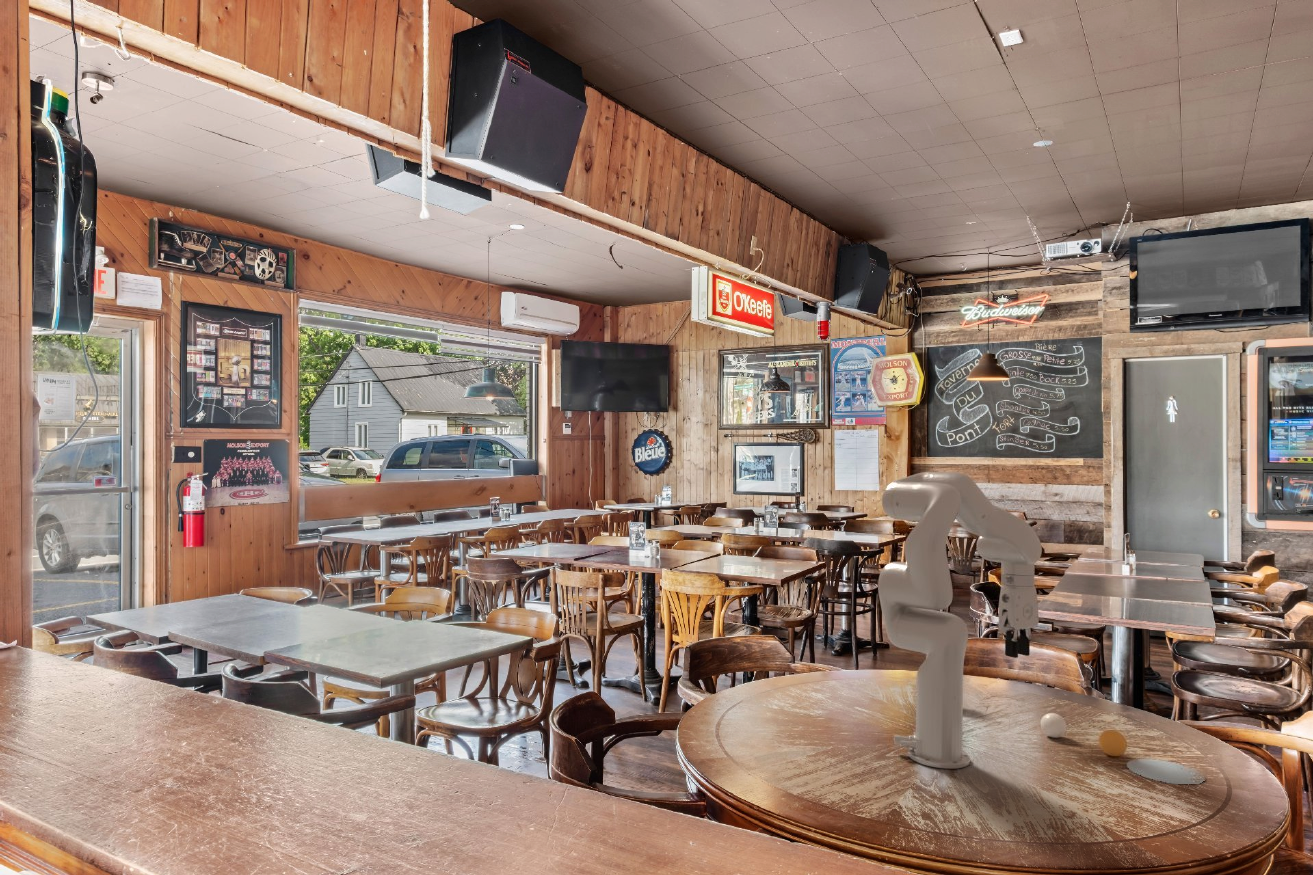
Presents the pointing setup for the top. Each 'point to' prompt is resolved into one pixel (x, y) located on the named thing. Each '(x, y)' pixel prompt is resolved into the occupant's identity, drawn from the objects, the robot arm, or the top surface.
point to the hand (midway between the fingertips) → (1017, 654)
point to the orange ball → (1112, 743)
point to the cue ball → (1053, 725)
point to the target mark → (1164, 771)
